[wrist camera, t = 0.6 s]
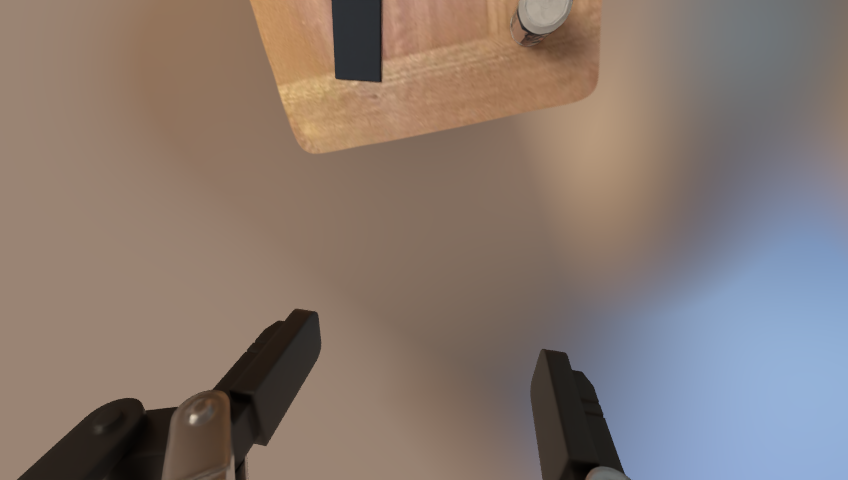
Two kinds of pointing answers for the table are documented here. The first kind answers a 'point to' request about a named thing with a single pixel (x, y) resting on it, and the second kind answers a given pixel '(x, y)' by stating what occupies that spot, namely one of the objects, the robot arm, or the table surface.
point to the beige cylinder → (537, 19)
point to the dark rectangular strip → (357, 39)
